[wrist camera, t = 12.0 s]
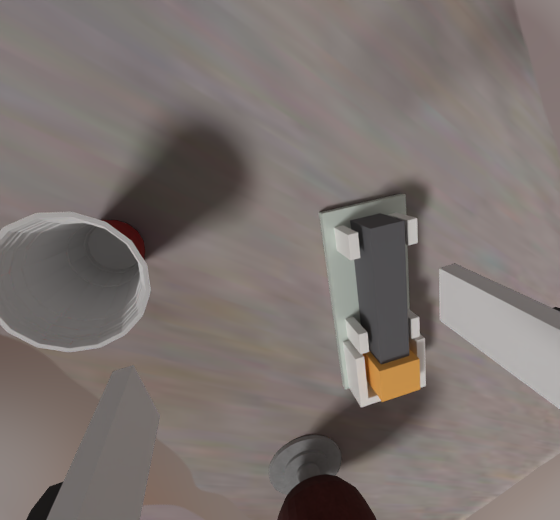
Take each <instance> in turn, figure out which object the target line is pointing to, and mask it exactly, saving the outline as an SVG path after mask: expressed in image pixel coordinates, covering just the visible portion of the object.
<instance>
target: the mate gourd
mask: <svg viewBox="0 0 560 520" xmlns="http://www.w3.org/2000/svg"><path fill="white" fill-rule="evenodd" d="M341 460H342V457H341V452H340V450H339V448H338V446H337V444H336V443H335V442H334V441H333V440H331V439H330V438H327V437H325V436H320V435H309V436H303V437H300V438H297V439H295V440H293V441H291V442H289V443H287V444H286V445H284V446H283V447H282V448H281V449H280V450H279V451H278V452H277V453H276V454H275V455H274V457H273V459H272V461H271V462H270V466H269V478H270V482H271V484H272V485H273V487H274V488H275V489H276V490H277V491H279V492H281V493H283V494H287V497H286V498H285V501H284V503H283V506H282V508H281V511H280V513H279V516H278V519H277V520H376V517H375V515H374V514H373V512H372V511H371V509H370V507H369V506H368V504H367V502H366V501H365V499H364V498H363V497H362V495H361V494H360V492H359V491H358V490H357V489H356V488H355V487H354V486H352V485H351V484H349V483H348V482H346V481H344V480H342V479H341V478H339V477H337V476H335V475H336V474H337V472H338V470H339V468H340V465H341Z"/></svg>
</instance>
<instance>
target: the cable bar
mask: <svg viewBox="0 0 560 520" xmlns="http://www.w3.org/2000/svg"><path fill="white" fill-rule="evenodd" d="M350 224H351V229H352V230H354V231H356V232H358V238H359V248H360V258H358V259H354V263H355V273H356V283H357V293H358V302H359V312H360V322H361V326H362V327H363V328H364V329H365V330H366V331H367V333H368V344H369V352H367V353H364V354H363V356H364V360H365V369H366V379H367V381H368V383H369V384H370V385H371V387H372V388H373V390H374V391H375V393H376V394H377V395H378V397H379V398H380V400H381V401H382V402H384V401H387V400H390V399H393V398H396V397H399V396H402V395H405V394H408V393H411V392H414V391H417V390H420V359H419V358H418V357H417V356H416V355H415V354H414V353H413V352H412V351H411V350H410V349H409V332H408V305H407V278H406V251H405V224H404V220H401V219H398V218H394V217H391V216H388V215H384V214H381V213H379V214H375V215H371V216H366V217H362V218H358V219H354V220H350Z"/></svg>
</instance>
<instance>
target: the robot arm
mask: <svg viewBox="0 0 560 520" xmlns="http://www.w3.org/2000/svg"><path fill="white" fill-rule="evenodd" d="M439 297H440V321H441V322H443V323H444V324H445V325H447V326H448V327H449V328H451V329H452V330H453V331H455V332H456V333H458V334H459V335H460V336H462V337H463V338H464V339H466V340H467V341H468V342H470V343H471V344H472V345H474V346H475V347H476V348H478V349H479V350H480V351H482V352H483V353H485V354H486V355H487V356H489V357H490V358H491V359H493V360H494V361H495V362H497V363H498V364H499V365H501V366H502V367H503V368H505V369H506V370H507V371H509V372H510V373H512V374H513V375H514V376H516V377H517V378H518V379H520V380H521V381H522V382H524V383H525V384H526V385H528V386H529V387H530V388H532V389H533V390H534V391H536V392H537V393H539V394H540V395H541V396H543V397H544V398H545V399H547V400H548V401H549V402H551V403H552V404H553V405H555V406H556V407H557V408H559V409H560V308H557V307H554V308H551V307H549V306H547V305H544V304H542V303H540V302H538V301H536V300H533V299H531V298H529V297H527V296H525V295H523V294H520V293H518V292H516V291H514V290H512V289H510V288H507V287H505V286H503V285H501V284H499V283H497V282H494V281H492V280H490V279H488V278H486V277H483V276H481V275H479V274H477V273H475V272H473V271H470V270H468V269H466V268H464V267H462V266H460V265H457V264H455V263H454V264H451V265H448V266H445V267H441V268H439ZM159 419H160V414H159V412H158V411H157V409H156V407H155V405H154V403H153V401H152V399H151V397H150V395H149V394H148V392H147V390H146V388H145V386H144V384H143V382H142V380H141V378H140V377H139V375H138V373H137V371H136V369H135V367H134V365H132V366H129V367H126V368H122V369H119V370H116V371H113V372H112V375H111V377H110V379H109V381H108V384H107V386H106V388H105V390H104V392H103V395H102V397H101V399H100V401H99V404H98V406H97V408H96V410H95V413H94V415H93V417H92V419H91V422H90V424H89V426H88V428H87V431H86V433H85V435H84V437H83V439H82V442H81V444H80V446H79V448H78V450H77V453H76V455H75V457H74V459H73V462H72V464H71V466H70V469H69V470H68V473H67V475H66V477H65V479H64V482H61V483H59V484H56V485H53V486H50V487H49V488H48V489H47V490H46V492H45V493H44V494H43V496H42V497H41V498H40V499H39V501H38V502H37V503H36V505H35V506H34V507H33V508H32V510H31V512H30V513H29V516H28V518H27V520H140V516H141V511H142V505H143V500H144V495H145V490H146V484H147V480H148V475H149V469H150V464H151V459H152V454H153V449H154V444H155V439H156V434H157V429H158V424H159Z"/></svg>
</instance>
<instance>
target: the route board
mask: <svg viewBox="0 0 560 520" xmlns="http://www.w3.org/2000/svg"><path fill="white" fill-rule="evenodd" d="M379 213H381V214H384V215H388V216H391V217H394V218H398V219H401V220H404V224H405V251H406V278H407V305H408V332H409V349H410V350H411V351H412V352H413V353H414V354H415V355H416V356H417V357H418V358H419V359H420V388H421V387H424V386H426V375H425V338H424V337H423V336H422V335H421V334H420V322H419V316H418V315H416V314H415V313H414V312H412V311H411V310H410V306H409V277H408V248H407V245H408V246H409V245H412V244H416V243H418V230H417V218H415V217H412V216H408V215H406V194H397V195H393V196H388V197H384V198H380V199H375V200H371V201H367V202H362V203H358V204H353V205H349V206H345V207H340V208H336V209H332V210H327V211H323V212H319V217H320V224H321V231H322V239H323V246H324V253H325V260H326V267H327V275H328V282H329V289H330V296H331V304H332V311H333V318H334V325H335V332H336V340H337V347H338V354H339V361H340V368H341V376H342V383H343V386H344V388H345V390H346V389H349V388H350V390H351V392H352V393H353V395H354V397H355V398H356V400H357V402H358V403H359V405H360V407H364V406H367V405H370V404H373V403H376V402H379V401H381V400H380V398H379V397H378V395H377V394H376V393H375V391H374V390H373V388H372V387H371V385H370V384H369V383H368V381H367V379H366V369H365V360H364V356H363V354H364V353H367V352H369V344H368V333H367V331H366V330H365V329H364V328H363V327H362V326H361V322H360V312H359V302H358V293H357V283H356V273H355V263H354V259H358V258H360V248H359V238H358V232H356V231H354V230H352V229H351V224H350V220H354V219H358V218H362V217H366V216H371V215H375V214H379Z"/></svg>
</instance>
